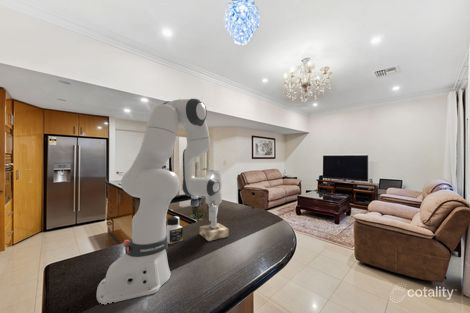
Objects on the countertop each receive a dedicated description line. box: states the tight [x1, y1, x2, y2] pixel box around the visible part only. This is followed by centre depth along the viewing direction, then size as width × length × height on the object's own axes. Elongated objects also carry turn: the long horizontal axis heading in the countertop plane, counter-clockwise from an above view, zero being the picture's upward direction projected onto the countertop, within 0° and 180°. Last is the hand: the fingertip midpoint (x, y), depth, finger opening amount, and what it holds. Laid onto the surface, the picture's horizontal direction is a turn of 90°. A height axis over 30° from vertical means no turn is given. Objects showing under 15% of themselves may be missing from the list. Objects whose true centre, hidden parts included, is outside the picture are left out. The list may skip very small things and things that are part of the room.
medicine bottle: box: [166, 216, 184, 245], centre depth 103 cm, size 7×7×12 cm
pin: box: [211, 217, 218, 230], centre depth 110 cm, size 3×3×9 cm
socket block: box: [199, 222, 230, 242], centre depth 110 cm, size 12×12×4 cm
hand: (213, 224), depth 110 cm, fingers open, 8 cm apart
